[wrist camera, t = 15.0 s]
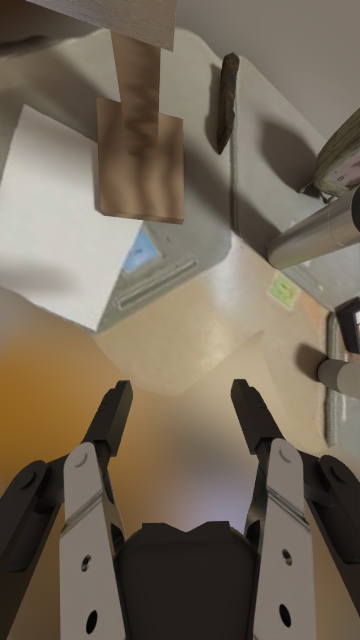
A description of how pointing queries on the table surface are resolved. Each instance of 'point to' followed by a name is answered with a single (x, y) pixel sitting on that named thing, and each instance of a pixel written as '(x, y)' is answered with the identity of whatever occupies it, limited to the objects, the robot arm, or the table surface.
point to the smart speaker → (341, 377)
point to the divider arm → (125, 17)
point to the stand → (139, 141)
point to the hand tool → (227, 99)
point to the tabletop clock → (339, 161)
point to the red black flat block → (351, 326)
